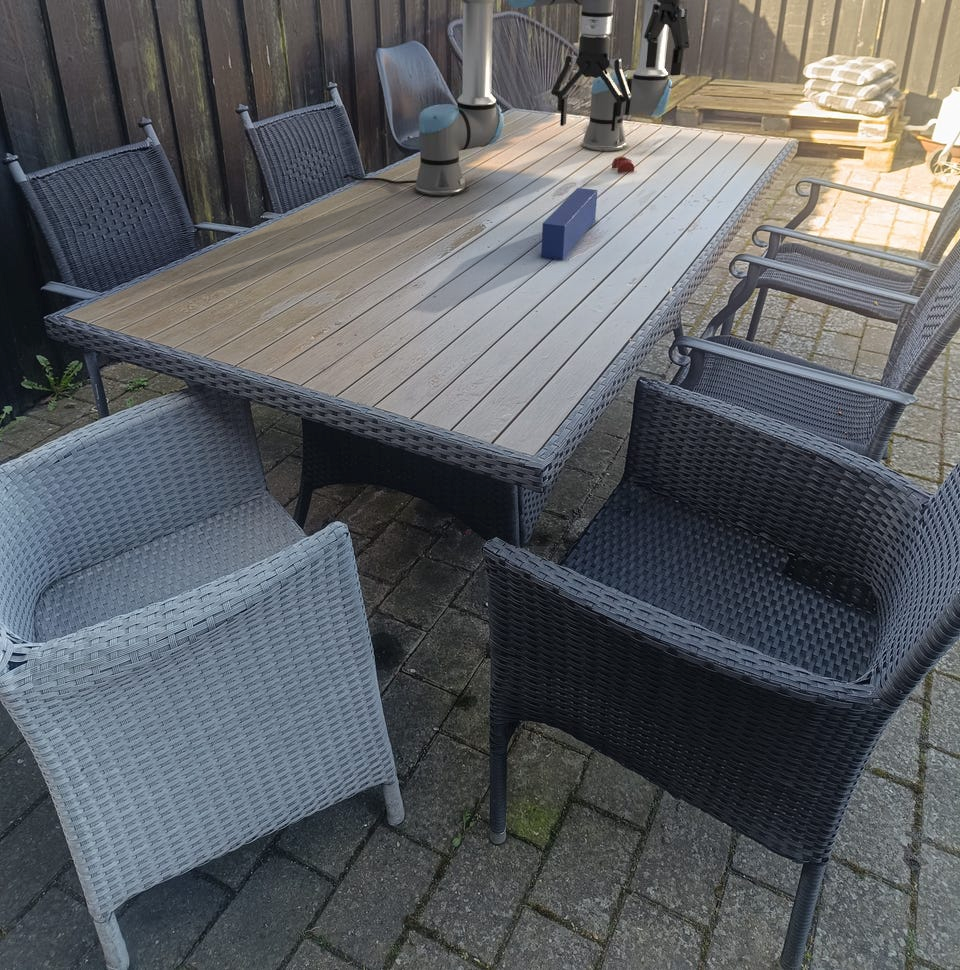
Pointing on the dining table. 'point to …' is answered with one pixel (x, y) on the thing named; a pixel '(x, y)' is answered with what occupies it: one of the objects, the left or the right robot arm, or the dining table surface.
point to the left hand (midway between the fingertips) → (588, 127)
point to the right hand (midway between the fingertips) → (662, 71)
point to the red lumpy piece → (623, 164)
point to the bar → (568, 223)
